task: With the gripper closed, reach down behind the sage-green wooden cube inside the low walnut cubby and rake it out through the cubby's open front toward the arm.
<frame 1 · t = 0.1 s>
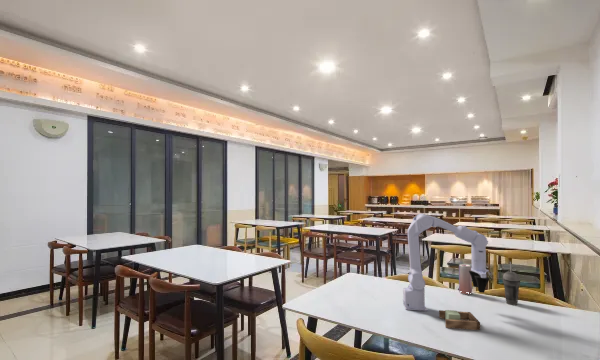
hand: (478, 289, 142), 10 cm above the table, tool pointing down, fingers open, 7 cm apart
cubby: (456, 323, 129), on the table
cube: (452, 323, 130), on the table
beverage cup: (511, 303, 151), on the table
beverage can: (465, 293, 166), on the table
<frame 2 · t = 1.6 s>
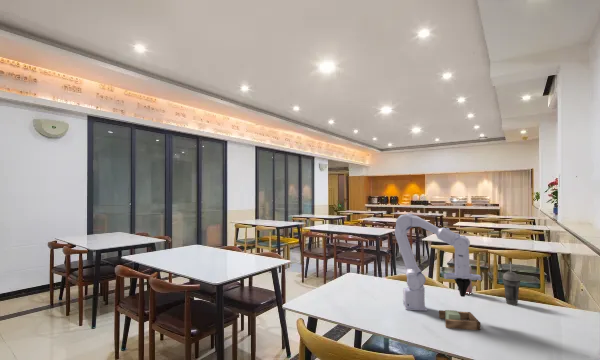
hand: (462, 295, 135), 9 cm above the table, tool pointing down, fingers closed
nothing on the table moved.
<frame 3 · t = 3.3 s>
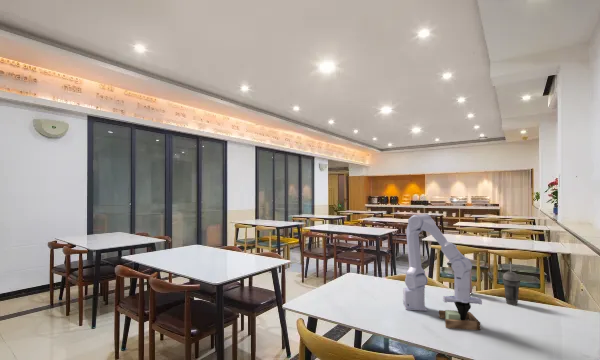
hand: (462, 320, 129), 1 cm above the table, tool pointing down, fingers closed
cube: (452, 323, 130), on the table, touching gripper
everything else where it was.
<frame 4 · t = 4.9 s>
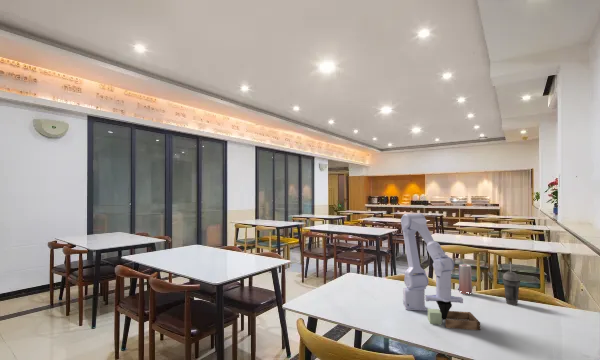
hand: (443, 319, 130), 1 cm above the table, tool pointing down, fingers closed
cube: (434, 321, 131), on the table, touching gripper
everything else where it was.
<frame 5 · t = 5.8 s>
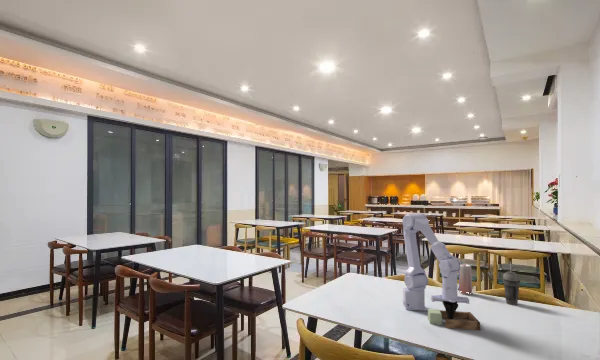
hand: (450, 319, 130), 1 cm above the table, tool pointing down, fingers closed
cube: (434, 322, 131), on the table
everything else where it was.
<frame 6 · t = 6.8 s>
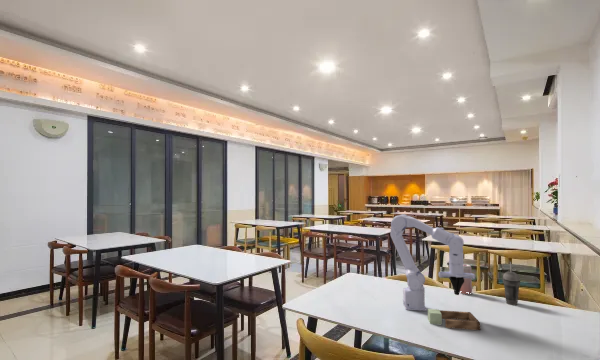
hand: (456, 294, 137), 9 cm above the table, tool pointing down, fingers closed
nothing on the table moved.
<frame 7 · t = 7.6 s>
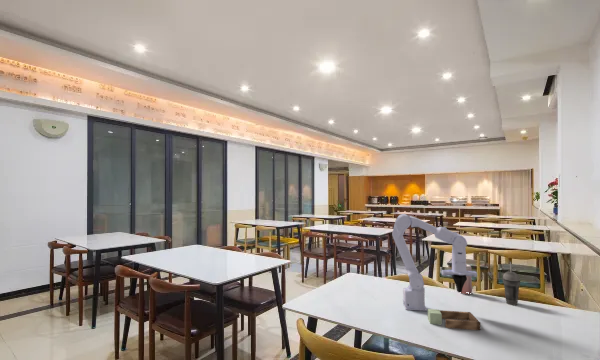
hand: (459, 291, 141), 9 cm above the table, tool pointing down, fingers closed
nothing on the table moved.
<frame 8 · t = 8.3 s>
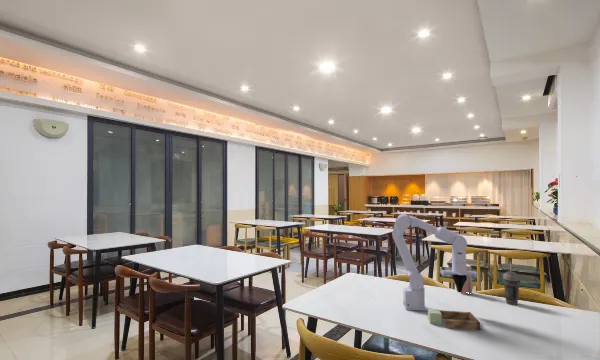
hand: (459, 291, 141), 9 cm above the table, tool pointing down, fingers closed
nothing on the table moved.
at the end: cube inside the target area (1.9 cm from its centre), on the table; cube tilted 0°; cube moved 7.1 cm from its start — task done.
